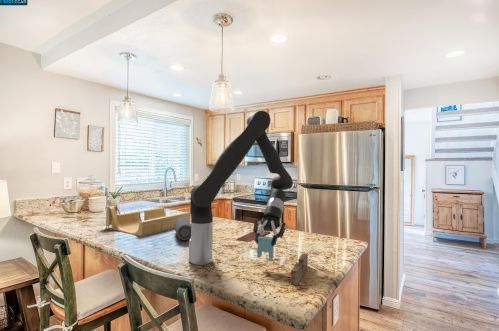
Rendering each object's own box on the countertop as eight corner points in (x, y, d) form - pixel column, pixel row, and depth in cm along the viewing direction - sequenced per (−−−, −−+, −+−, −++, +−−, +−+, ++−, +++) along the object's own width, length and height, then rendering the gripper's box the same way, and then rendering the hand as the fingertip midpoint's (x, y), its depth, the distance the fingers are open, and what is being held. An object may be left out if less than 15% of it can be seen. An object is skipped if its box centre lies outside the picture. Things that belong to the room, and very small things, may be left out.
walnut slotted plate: (291, 284, 94) (291, 270, 94) (302, 265, 112) (302, 253, 112) (297, 285, 93) (297, 271, 93) (307, 265, 111) (307, 253, 111)
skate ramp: (141, 238, 153) (142, 211, 153) (105, 229, 171) (106, 204, 171) (190, 225, 187) (190, 203, 187) (156, 218, 205) (156, 197, 205)
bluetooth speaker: (194, 241, 144) (194, 223, 144) (176, 243, 141) (176, 224, 141) (189, 231, 166) (189, 215, 166) (173, 232, 163) (174, 216, 163)
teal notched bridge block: (257, 257, 108) (257, 237, 108) (259, 255, 110) (259, 235, 110) (271, 259, 105) (271, 239, 105) (273, 257, 108) (273, 237, 108)
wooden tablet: (257, 231, 171) (257, 228, 171) (271, 233, 166) (271, 230, 166) (232, 240, 149) (233, 237, 149) (247, 243, 144) (247, 240, 144)
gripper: (256, 203, 118) (245, 237, 107) (288, 206, 112) (280, 241, 101) (260, 213, 123) (250, 246, 112) (291, 216, 117) (283, 251, 106)
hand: (264, 244), depth 107 cm, fingers closed on teal notched bridge block, 6 cm apart
